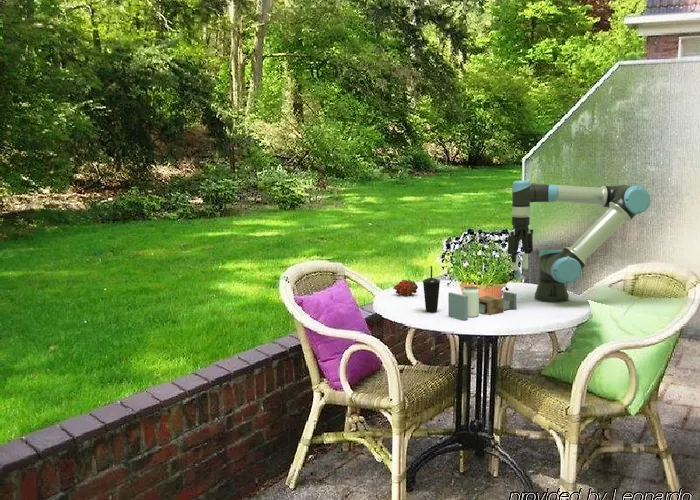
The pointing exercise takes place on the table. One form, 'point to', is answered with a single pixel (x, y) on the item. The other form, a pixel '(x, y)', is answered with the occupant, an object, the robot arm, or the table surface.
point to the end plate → (458, 306)
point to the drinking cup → (431, 293)
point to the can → (472, 300)
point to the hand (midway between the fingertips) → (520, 268)
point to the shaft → (508, 302)
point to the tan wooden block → (492, 304)
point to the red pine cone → (406, 287)
